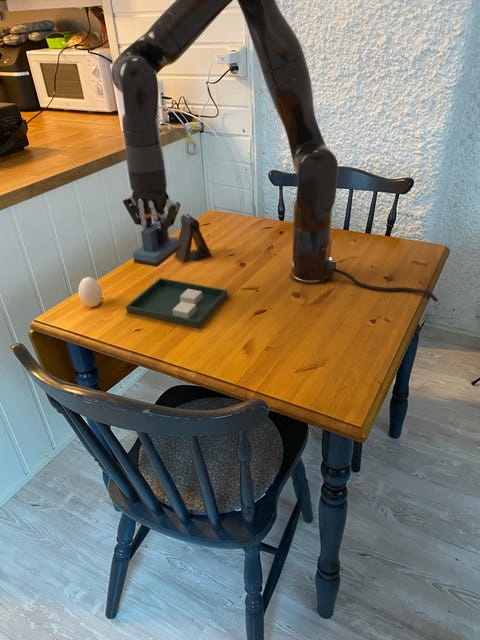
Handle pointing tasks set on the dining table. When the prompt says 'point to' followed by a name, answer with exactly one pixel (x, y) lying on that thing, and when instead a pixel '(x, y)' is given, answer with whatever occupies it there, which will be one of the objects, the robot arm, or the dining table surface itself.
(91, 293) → the egg
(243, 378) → the dining table surface
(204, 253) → the dark grey a-frame stand
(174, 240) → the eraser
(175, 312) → the cream slab tile
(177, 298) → the tray
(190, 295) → the beige square tile
